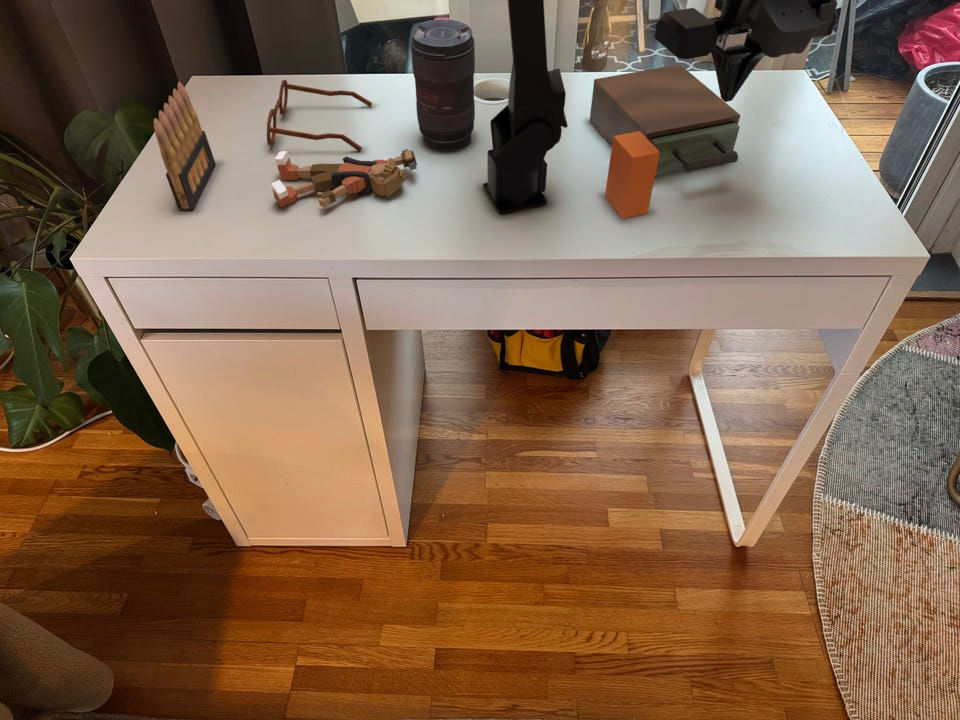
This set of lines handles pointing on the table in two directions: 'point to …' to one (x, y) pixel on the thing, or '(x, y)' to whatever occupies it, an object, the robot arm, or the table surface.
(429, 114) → the camera lens
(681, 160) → the drawer
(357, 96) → the glasses
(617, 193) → the orange rectangular block
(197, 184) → the ammunition clip
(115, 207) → the table surface
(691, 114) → the cabinet
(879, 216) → the table surface
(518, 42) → the robot arm
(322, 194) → the character figurine
